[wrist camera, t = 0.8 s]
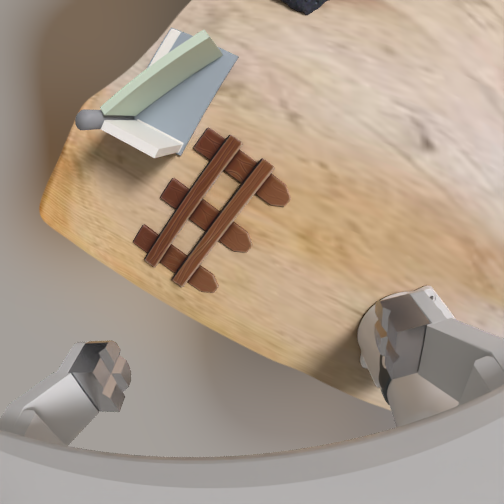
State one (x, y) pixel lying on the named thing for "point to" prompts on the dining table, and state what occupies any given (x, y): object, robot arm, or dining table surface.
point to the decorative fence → (210, 210)
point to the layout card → (185, 94)
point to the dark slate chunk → (305, 5)
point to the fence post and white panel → (128, 132)
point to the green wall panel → (163, 76)
